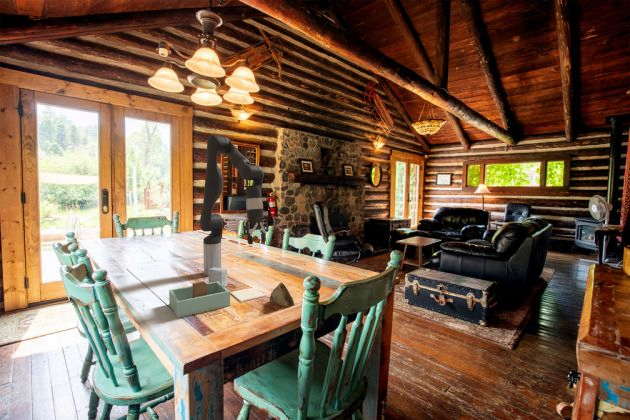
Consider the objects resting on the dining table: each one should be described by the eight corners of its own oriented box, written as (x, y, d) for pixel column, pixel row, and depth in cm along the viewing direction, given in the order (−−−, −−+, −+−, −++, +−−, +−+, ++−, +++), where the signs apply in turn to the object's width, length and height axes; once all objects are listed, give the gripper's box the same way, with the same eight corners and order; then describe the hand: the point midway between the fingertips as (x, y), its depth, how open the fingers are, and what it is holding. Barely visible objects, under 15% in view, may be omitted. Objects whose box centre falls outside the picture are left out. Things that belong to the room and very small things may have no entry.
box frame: (169, 304, 117) (169, 289, 117) (218, 294, 129) (218, 281, 128) (176, 318, 105) (176, 302, 105) (230, 305, 117) (230, 291, 116)
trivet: (230, 293, 130) (230, 292, 130) (255, 288, 137) (255, 287, 137) (240, 302, 121) (240, 300, 121) (266, 296, 128) (266, 295, 128)
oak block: (192, 304, 118) (192, 283, 117) (203, 302, 120) (203, 281, 119) (195, 308, 114) (195, 286, 113) (207, 305, 117) (206, 284, 116)
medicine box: (227, 286, 140) (227, 268, 139) (221, 289, 135) (221, 271, 135) (214, 284, 142) (214, 267, 141) (208, 286, 138) (208, 269, 137)
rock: (262, 296, 122) (270, 301, 113) (273, 278, 125) (281, 282, 116) (281, 307, 126) (290, 313, 117) (292, 290, 129) (301, 295, 120)
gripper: (259, 207, 140) (261, 240, 141) (237, 209, 128) (240, 245, 129) (271, 207, 136) (273, 240, 137) (249, 208, 124) (251, 245, 125)
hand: (257, 242), depth 133 cm, fingers open, 8 cm apart
